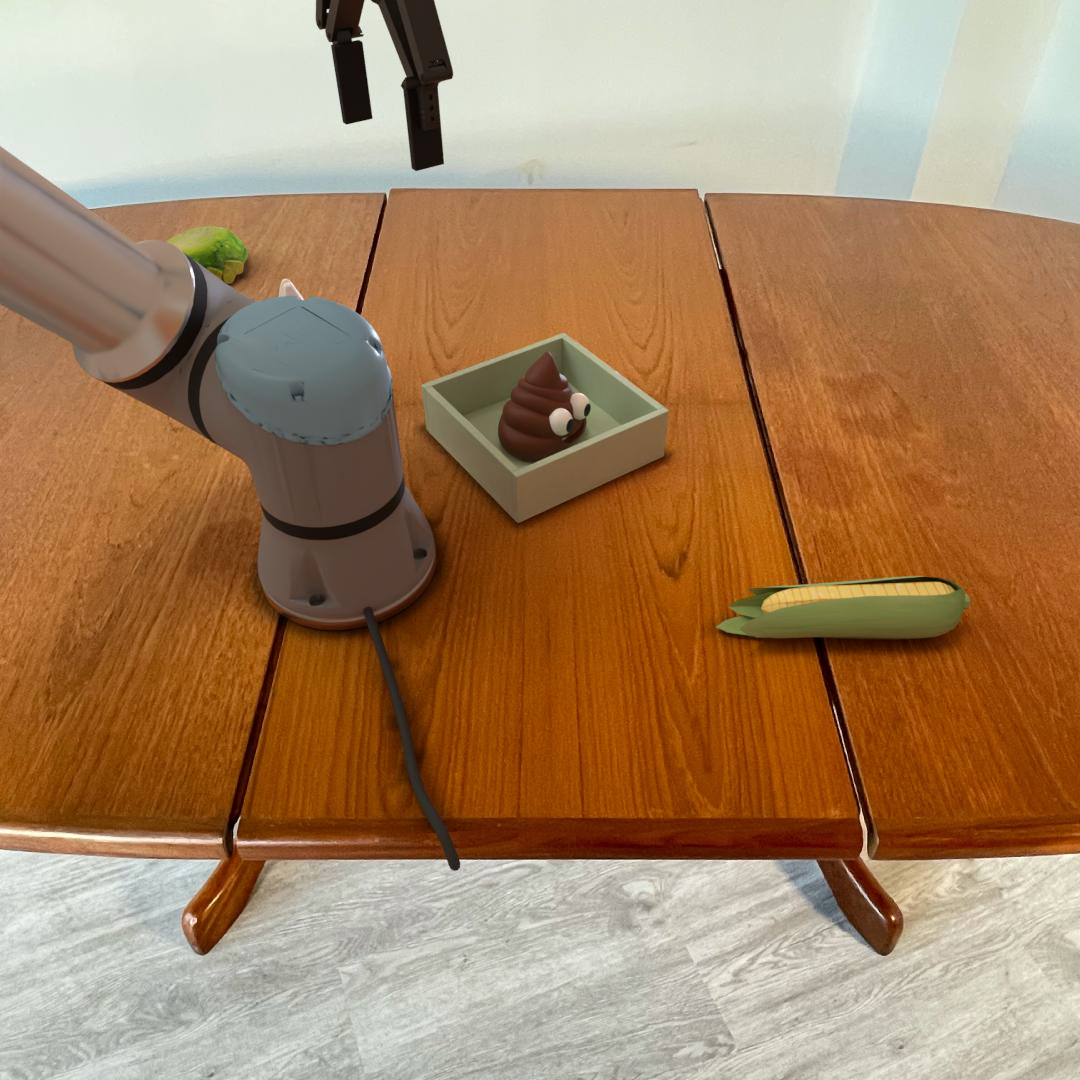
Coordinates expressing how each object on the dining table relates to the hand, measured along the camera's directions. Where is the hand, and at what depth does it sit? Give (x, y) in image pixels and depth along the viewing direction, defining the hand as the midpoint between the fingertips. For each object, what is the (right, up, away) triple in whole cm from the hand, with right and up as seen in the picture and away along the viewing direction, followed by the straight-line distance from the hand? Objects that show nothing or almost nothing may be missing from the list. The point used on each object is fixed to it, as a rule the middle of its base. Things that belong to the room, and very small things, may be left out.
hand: (391, 142), depth 78 cm
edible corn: (+38, -43, -6) cm, 57 cm away
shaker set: (-14, -18, +21) cm, 30 cm away
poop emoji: (+14, -25, +12) cm, 31 cm away
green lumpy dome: (-32, +1, +40) cm, 51 cm away
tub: (+14, -25, +12) cm, 31 cm away
